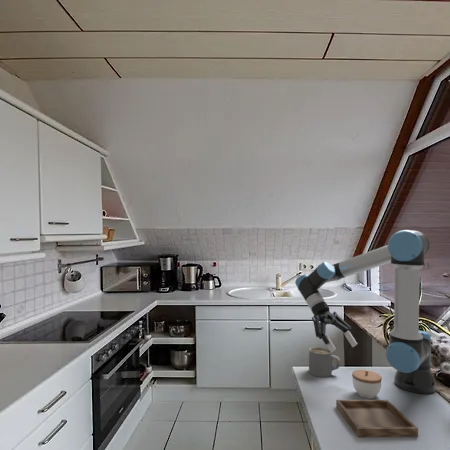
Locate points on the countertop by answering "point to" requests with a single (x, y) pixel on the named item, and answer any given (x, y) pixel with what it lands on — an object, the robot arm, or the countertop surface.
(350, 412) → the walnut square tray
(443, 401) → the countertop surface
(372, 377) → the lidded jar
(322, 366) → the coffee mug
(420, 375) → the robot arm
